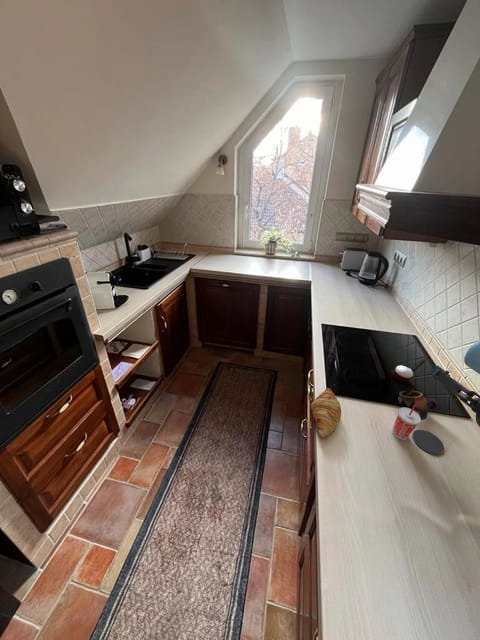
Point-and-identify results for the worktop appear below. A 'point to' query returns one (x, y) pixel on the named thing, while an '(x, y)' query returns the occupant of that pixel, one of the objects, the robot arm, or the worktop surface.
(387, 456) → the worktop surface
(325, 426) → the croissant
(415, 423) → the beverage cup
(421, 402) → the pottery mug
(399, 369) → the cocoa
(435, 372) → the robot arm
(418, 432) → the slate coaster
